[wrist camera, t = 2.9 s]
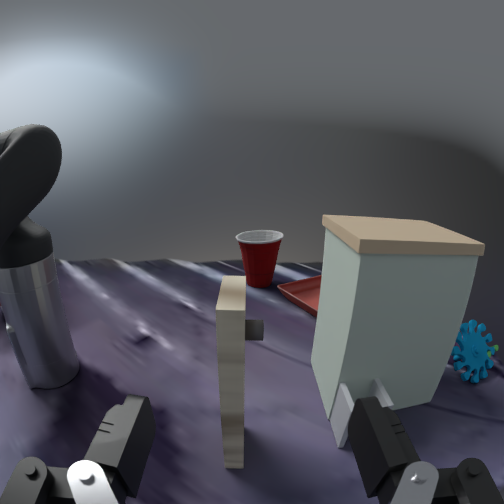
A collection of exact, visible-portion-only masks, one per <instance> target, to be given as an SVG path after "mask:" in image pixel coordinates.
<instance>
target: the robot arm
mask: <svg viewBox="0 0 504 504" xmlns="http://www.w3.org/2000/svg"><path fill="white" fill-rule="evenodd" d="M61 159H62V150H61V144H60V141H59V139H58V137H57V135H56V134H55V133H54V132H53V131H52V130H51V129H50V128H48V127H46V126H43V125H34V124H31V125H25V126H21V127H18V128H15V129H12V130H8V131H5V132H2V133H0V303H1V307H2V310H3V314H4V317H5V320H6V330H7V334H8V336H9V339H10V342H11V345H12V348H13V350H14V353H15V355H16V358H17V361H18V363H19V365H20V368H21V370H22V373H23V375H24V377H25V379H26V382H27V384H28V386H29V388H30V389H31V388H35V387H38V388H44V389H50V388H56V387H59V386H62V385H64V384H66V383H68V382H69V381H71V380H72V379H73V378H74V377H75V376H76V374H77V373H78V371H79V362H78V358H77V355H76V351H75V349H74V345H73V342H72V338H71V335H70V331H69V327H68V323H67V319H66V315H65V311H64V307H63V302H62V298H61V293H60V288H59V283H58V278H57V272H56V266H55V260H54V253H53V247H52V240H51V235H50V232H49V231H48V230H47V229H45V228H44V227H42V226H40V225H38V224H36V223H35V222H33V221H32V220H31V219H30V218H29V217H28V216H27V215H28V214H29V213H30V212H31V211H32V210H33V209H34V208H35V207H36V206H37V205H38V204H39V203H40V202H41V201H42V199H43V198H44V197H45V196H46V195H47V194H48V192H49V191H50V189H51V188H52V186H53V185H54V183H55V181H56V178H57V176H58V173H59V170H60V166H61ZM155 431H156V424H155V419H154V416H153V412H152V408H151V405H150V401H149V398H148V397H145V396H138V395H132V394H129V395H128V396H127V398H126V400H125V402H124V404H123V406H122V405H117V404H116V405H115V406H114V407H112V408H111V409H110V410H109V411H108V412H107V413H106V415H105V417H104V419H103V421H102V423H101V425H100V427H99V431H97V433H96V435H95V437H94V439H93V441H92V443H91V445H90V447H89V449H88V451H87V453H86V455H85V457H84V459H83V460H82V461H79V462H76V463H74V464H73V465H72V466H71V467H70V468H58V467H47V466H46V465H45V464H44V462H43V461H42V460H40V459H38V458H36V457H26V458H24V459H22V460H20V461H19V462H18V464H17V466H16V468H15V469H14V471H13V473H12V475H11V477H10V479H9V481H8V483H7V485H6V487H5V489H4V491H3V494H2V496H1V498H0V504H126V503H125V499H126V496H128V497H133V498H136V496H137V492H138V489H139V485H140V482H141V479H142V475H143V472H144V469H145V465H146V462H147V459H148V455H149V452H150V449H151V446H152V443H153V439H154V436H155ZM348 437H349V440H350V443H351V446H352V449H353V452H354V455H355V458H356V462H357V465H358V468H359V471H360V474H361V477H362V481H363V484H364V487H365V490H366V494H367V497H368V498H371V497H375V496H378V500H379V504H504V501H503V499H502V497H501V495H500V493H499V491H498V489H497V487H496V485H495V483H494V481H493V479H492V477H491V475H490V473H489V471H488V469H487V467H486V466H485V464H484V463H483V462H482V461H481V460H479V459H476V458H467V459H465V460H463V461H462V462H461V463H460V464H459V465H458V467H457V468H444V469H436V468H435V467H434V466H433V465H432V464H430V463H428V462H424V461H421V460H420V459H419V457H418V455H417V453H416V451H415V449H414V447H413V445H412V443H411V441H410V439H409V437H408V435H407V433H405V429H404V427H403V425H401V421H400V420H399V418H398V416H397V414H396V413H395V412H394V411H393V410H391V409H390V408H389V407H388V406H387V407H382V406H381V404H380V402H379V400H378V398H377V397H376V396H372V397H365V398H358V399H356V401H355V404H354V407H353V411H352V414H351V417H350V419H349V422H348Z"/></svg>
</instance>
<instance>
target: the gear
mask: <svg viewBox="0 0 504 504" xmlns="http://www.w3.org/2000/svg"><path fill="white" fill-rule="evenodd" d="M476 326H477V322H476V321H475V320H471V321H469V333H468V334H467V329H468V323H464V324H462V325H461V326H460V330H461V332H462V335H463V340H462V335H461V333H460V332H458V335H457V338H456V342H457V343H458V344H459V346H460V348H461V351H460V349H459V347H458V346H454V347H453V349H452V352H451V355H452V356H454V361H457V362H455V363H454V369H455V371H457V370H460V369H461V368H462V367H463V366H466V367H467V372H464V373H462V374H461V379H462V380H463V381H467V380H468V379H469V377H470V374H471V372H472V371H474V375H473V376H472V377H471V379H470V382H471V383H478V382H479V378H480V379H483V378H486V377H487V376H488V373H487V371H486V369H490V368H492V366H493V364H494V363H493V361H492V360H490V359H489V357H491V355H494V352H495V351H497V350H498V345H494V346H492V347H488V346H487V345H486V343H485V342H490V341H492V336H491V334H487V335H486V336H485V337H482V336H481V332H483V331H485V330H486V327H485V325H484V324H483V323H482V324H480V325H479V326H478V330H477V332H476V333H475V332H474V328H475V327H476ZM461 359H462V362H461V361H458V360H461ZM485 362H486V368H485ZM480 369H481V372H480V375H479V370H480Z"/></svg>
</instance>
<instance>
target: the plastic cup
mask: <svg viewBox="0 0 504 504" xmlns="http://www.w3.org/2000/svg"><path fill="white" fill-rule="evenodd" d="M282 238H283V234H282V233H281V232H277V231H271V230H255V231H248V232H244V233H241V234H238V235H237V236H236V239H237V240H238V242H239V245H240V249H241V252H242V259H243V265H244V270H245V275H246V281H247V284H248V285H249V286H252V287H257V288H263V287H268V286H270V285H271V282H272V278H273V273H274V270H275V265H276V260H277V255H278V250H279V246H280V243H281V240H282Z"/></svg>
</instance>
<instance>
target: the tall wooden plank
mask: <svg viewBox="0 0 504 504" xmlns="http://www.w3.org/2000/svg"><path fill="white" fill-rule="evenodd" d="M245 297H246V276H223V279H222V283H221V288H220V292H219V297H218V302H217V306H216V332H217V356H218V376H219V393H220V409H221V424H222V438H223V450H224V462H225V468H240V469H244V375H245V340H262V341H263V333H264V324H263V320H245Z"/></svg>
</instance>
